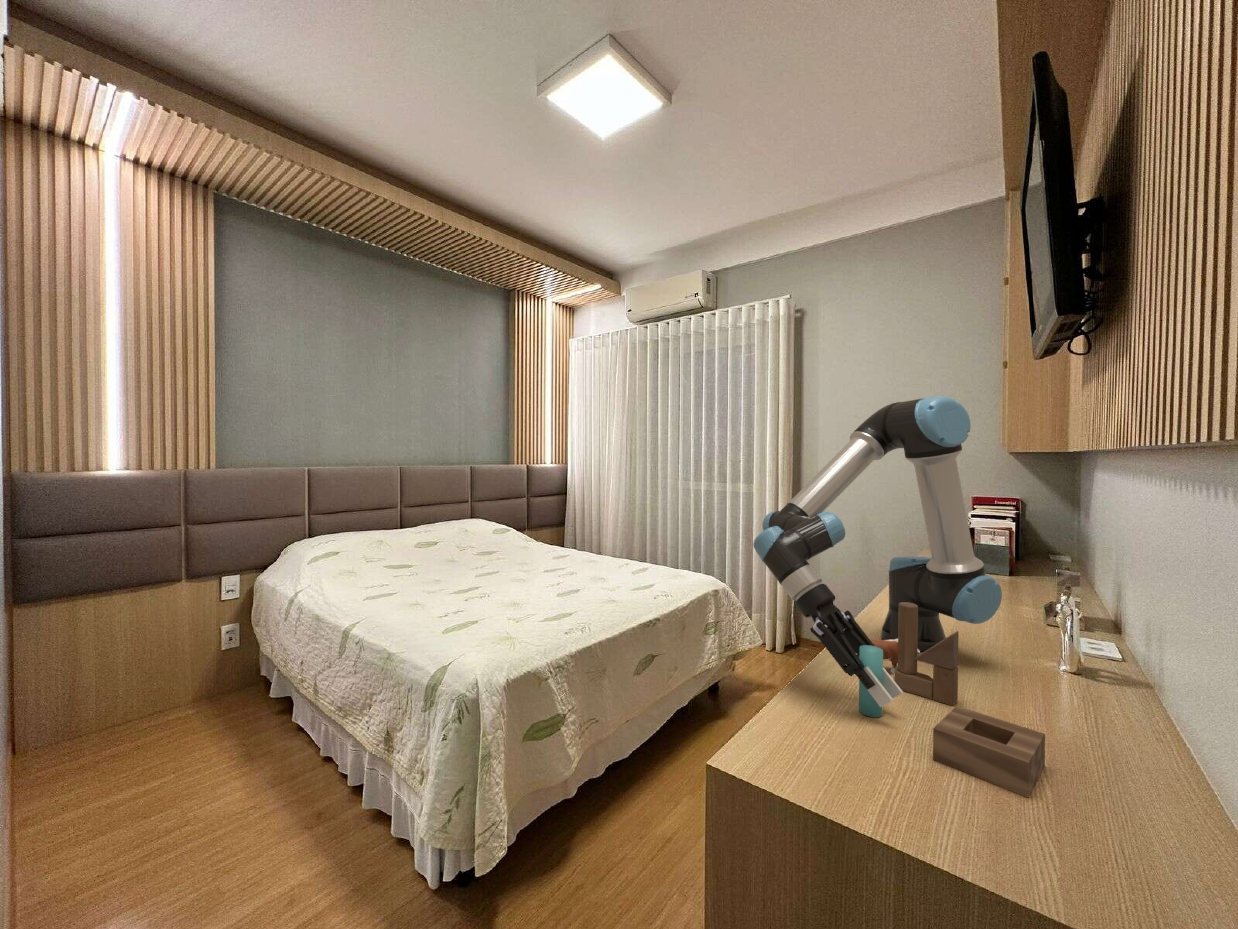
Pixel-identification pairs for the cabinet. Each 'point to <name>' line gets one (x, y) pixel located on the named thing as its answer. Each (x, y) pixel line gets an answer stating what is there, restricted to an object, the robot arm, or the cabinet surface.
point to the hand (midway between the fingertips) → (891, 699)
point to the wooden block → (925, 660)
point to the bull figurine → (889, 651)
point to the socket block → (990, 749)
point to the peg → (874, 661)
